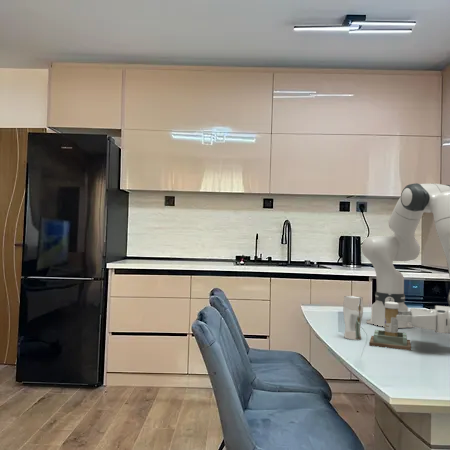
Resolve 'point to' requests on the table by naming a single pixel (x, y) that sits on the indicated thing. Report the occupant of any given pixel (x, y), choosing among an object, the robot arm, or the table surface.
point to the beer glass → (352, 317)
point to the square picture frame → (390, 340)
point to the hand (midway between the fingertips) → (396, 315)
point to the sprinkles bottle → (391, 319)
